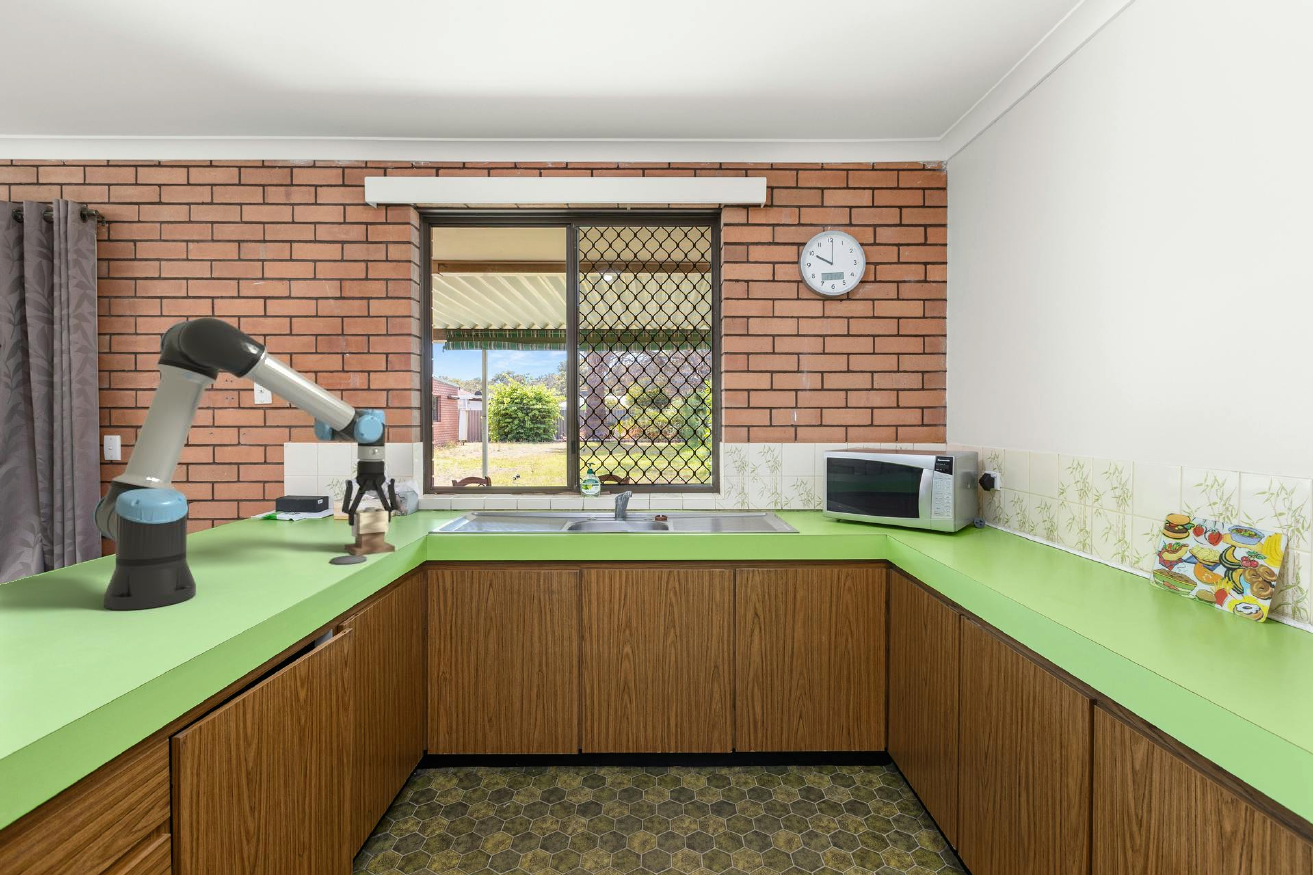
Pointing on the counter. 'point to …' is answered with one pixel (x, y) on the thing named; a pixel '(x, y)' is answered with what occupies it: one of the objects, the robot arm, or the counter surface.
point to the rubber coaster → (348, 559)
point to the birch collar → (372, 521)
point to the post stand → (369, 542)
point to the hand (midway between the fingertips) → (369, 534)
